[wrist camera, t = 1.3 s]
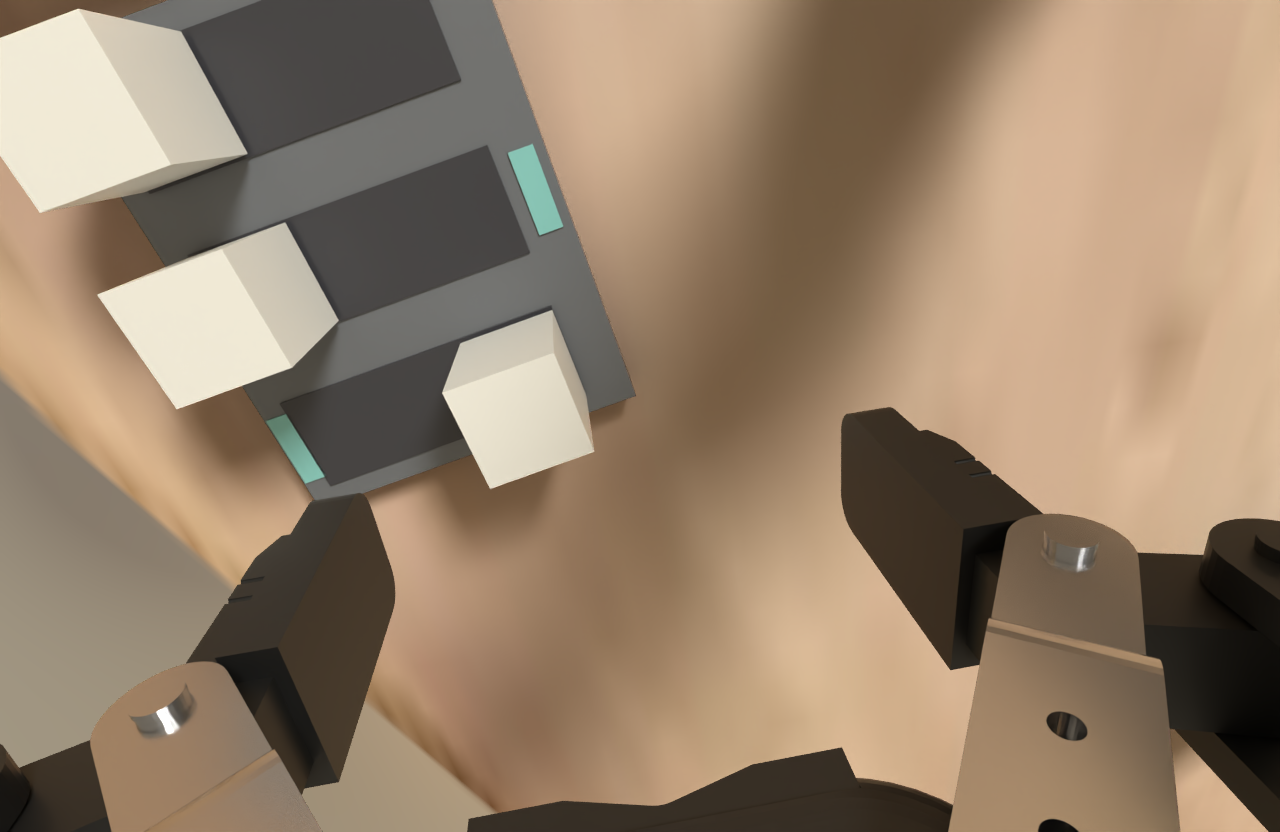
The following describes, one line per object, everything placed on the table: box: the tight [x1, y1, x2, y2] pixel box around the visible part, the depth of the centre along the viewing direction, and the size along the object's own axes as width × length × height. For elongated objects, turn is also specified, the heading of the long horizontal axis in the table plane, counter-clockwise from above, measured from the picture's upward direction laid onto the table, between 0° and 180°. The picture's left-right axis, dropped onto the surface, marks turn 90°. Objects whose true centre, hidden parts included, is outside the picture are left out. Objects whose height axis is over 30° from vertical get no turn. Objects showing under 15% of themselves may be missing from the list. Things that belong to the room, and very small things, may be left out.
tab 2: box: [442, 310, 594, 489], centre depth 26 cm, size 4×4×6 cm
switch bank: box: [121, 0, 636, 500], centre depth 27 cm, size 15×19×2 cm
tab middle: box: [98, 223, 339, 409], centre depth 24 cm, size 4×4×6 cm
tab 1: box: [0, 9, 248, 213], centre depth 21 cm, size 4×4×6 cm
